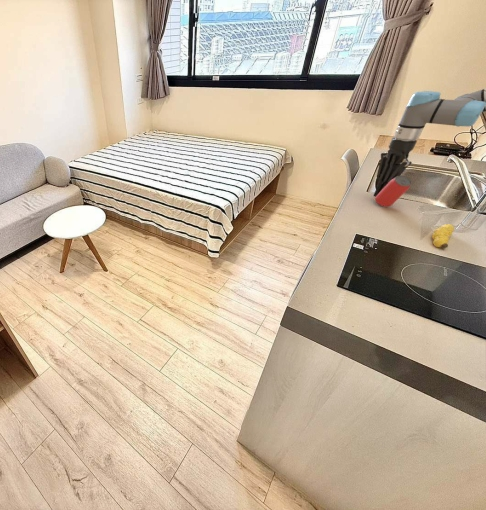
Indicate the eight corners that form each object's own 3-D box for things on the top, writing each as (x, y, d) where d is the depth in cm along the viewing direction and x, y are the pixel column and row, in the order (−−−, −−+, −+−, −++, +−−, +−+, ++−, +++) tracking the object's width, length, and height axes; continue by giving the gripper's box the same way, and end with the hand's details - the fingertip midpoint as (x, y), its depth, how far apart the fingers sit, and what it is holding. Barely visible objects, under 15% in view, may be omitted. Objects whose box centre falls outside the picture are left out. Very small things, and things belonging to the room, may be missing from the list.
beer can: (375, 206, 115) (396, 185, 105) (372, 194, 118) (391, 173, 108) (393, 208, 114) (415, 187, 104) (389, 196, 117) (410, 175, 107)
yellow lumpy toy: (435, 226, 100) (444, 219, 97) (450, 234, 98) (459, 226, 95) (425, 243, 92) (434, 236, 90) (441, 252, 90) (451, 244, 87)
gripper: (382, 135, 110) (358, 190, 124) (408, 143, 99) (379, 203, 113) (401, 133, 110) (375, 189, 124) (429, 142, 99) (397, 202, 113)
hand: (377, 196), depth 119 cm, fingers closed
